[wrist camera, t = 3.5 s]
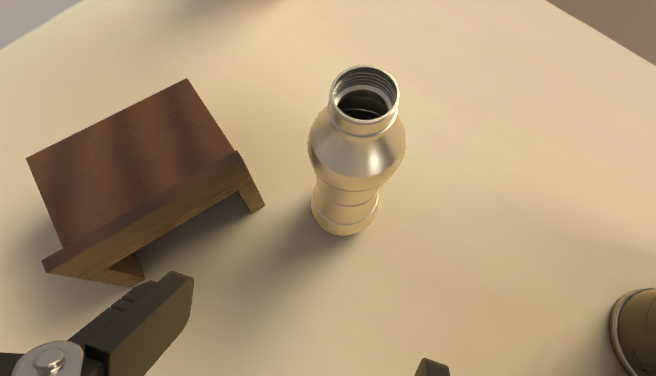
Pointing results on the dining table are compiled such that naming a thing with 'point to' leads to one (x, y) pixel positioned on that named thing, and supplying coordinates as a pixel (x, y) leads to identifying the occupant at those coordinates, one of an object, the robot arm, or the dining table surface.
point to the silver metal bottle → (355, 148)
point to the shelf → (135, 183)
